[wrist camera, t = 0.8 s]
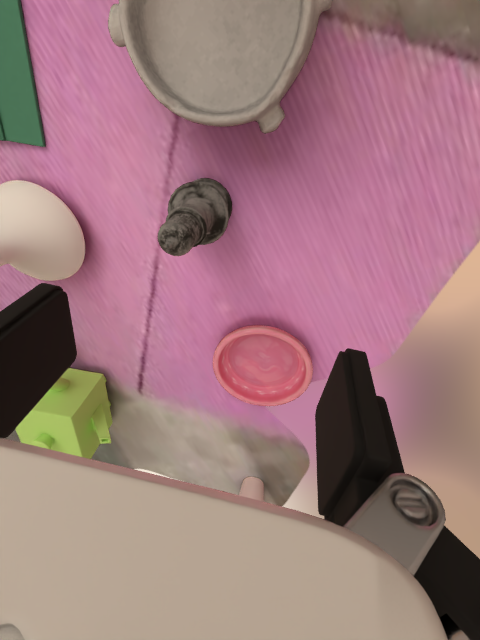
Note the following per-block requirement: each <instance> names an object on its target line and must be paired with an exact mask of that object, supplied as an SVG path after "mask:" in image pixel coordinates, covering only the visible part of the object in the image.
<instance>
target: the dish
mask: <svg viewBox="0 0 480 640" xmlns="http://www.w3.org/2000/svg"><path fill="white" fill-rule="evenodd" d="M331 4H332V0H119V4H114V5H113V6H112V7H111V9H110V14H109V20H108V28H109V32H110V35H111V38H112V40H113V42H114V43H115V44H116V45H117V46H119V47H124V46H126V47H127V50H128V53H129V55H130V57H131V60H132V62H133V64H134V66H135V68H136V70H137V72H138V74H139V76H140V78H141V79H142V81H143V82H144V84H145V85H146V87H147V88H148V89H149V91H150V92H151V93H152V94H153V95H154V97H155V98H156V99H157V100H158V101H159V102H160V103H162V104H163V105H164V106H165V107H166V108H168V109H169V110H170V111H172V112H173V113H175V114H176V115H178V116H180V117H182V118H184V119H186V120H189V121H192V122H194V123H199V124H203V125H209V126H236V125H241V124H245V123H249V122H252V121H257V122H258V124H259V126H260V129H261V131H262V132H263V133H269V132H273V131H275V130H276V129H277V128H278V126H279V125H280V123H281V122H282V120H283V119H284V117H285V114H284V111H283V110H282V108H281V107H280V101H281V99H282V98H283V97H284V95H285V94H286V92H287V91H288V90H289V88H290V87H291V85H292V84H293V82H294V81H295V79H296V78H297V76H298V74H299V73H300V71H301V69H302V67H303V65H304V63H305V61H306V59H307V57H308V54H309V51H310V49H311V46H312V43H313V40H314V37H315V33H316V29H317V25H318V20H319V16H320V14H321V13H322V12H323V11H327V10H329V9H330V8H331Z"/></svg>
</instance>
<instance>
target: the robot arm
mask: <svg viewBox="0 0 480 640" xmlns="http://www.w3.org/2000/svg"><path fill="white" fill-rule="evenodd" d="M76 355H77V351H76V345H75V339H74V333H73V326H72V320H71V314H70V308H69V302H68V296H67V294H66V292H63V289H62V288H61V287H60V286H56V285H51V284H46V283H41V284H39V285H38V286H36V287H35V288H33V289H32V290H30V291H29V292H28V293H26V294H25V295H23V296H22V297H21V298H19V299H18V300H16V301H15V302H13V303H12V304H11V305H9V306H8V307H6V308H5V309H3V310H2V311H1V312H0V640H480V559H479V558H478V557H477V556H476V555H475V554H474V553H473V552H472V551H470V550H469V549H468V548H467V547H466V546H465V545H464V544H463V543H462V542H461V541H460V540H459V539H458V538H457V537H456V536H455V535H454V534H453V533H452V532H450V531H449V530H448V529H447V528H446V527H445V526H444V523H445V520H446V518H445V510H444V508H443V505H442V503H441V501H440V499H439V498H438V496H437V495H436V493H435V492H434V491H433V490H432V489H431V488H430V487H429V486H428V485H427V484H426V483H424V482H423V481H421V480H419V479H418V478H416V477H414V476H412V475H409V474H405V472H404V469H403V465H402V461H401V457H400V453H399V450H398V446H397V442H396V438H395V435H394V431H393V427H392V423H391V420H390V416H389V412H388V408H387V404H386V402H385V399H384V398H383V397H380V396H376V393H375V389H374V384H373V380H372V376H371V372H370V367H369V363H368V359H367V355H366V353H365V352H363V351H358V350H353V349H349V348H348V349H346V351H345V352H342V351H340V352H339V354H338V356H337V359H336V361H335V364H334V366H333V369H332V371H331V373H330V376H329V378H328V381H327V383H326V386H325V388H324V391H323V393H322V396H321V398H320V401H319V403H318V405H317V409H316V415H315V417H316V418H315V420H316V450H317V451H316V452H317V485H318V511H319V514H320V515H323V516H324V517H325V519H322V518H318V517H315V516H312V515H309V514H306V513H302V512H299V511H296V510H292V509H288V508H285V507H281V506H277V505H273V504H270V503H266V502H262V501H258V500H255V499H251V498H247V497H243V496H239V495H235V494H231V493H227V492H223V491H219V490H215V489H211V488H207V487H203V486H199V485H195V484H191V483H187V482H183V481H179V480H174V479H170V478H166V477H162V476H158V475H154V474H150V473H146V472H142V471H138V470H133V469H129V468H125V467H121V466H117V465H113V464H109V463H104V462H100V461H96V460H92V459H88V458H84V457H80V456H75V455H71V454H67V453H63V452H59V451H54V450H50V449H46V448H42V447H37V446H33V445H29V444H25V443H20V442H16V441H12V440H8V439H3V438H6V437H8V436H9V435H10V434H11V433H12V432H13V431H14V430H15V428H16V427H17V426H18V425H19V424H20V423H21V422H22V420H23V419H24V418H25V417H26V416H27V415H28V414H29V412H30V411H31V410H32V409H33V408H34V407H35V406H36V404H37V403H38V402H39V401H40V400H41V399H42V398H43V396H44V395H45V394H46V393H47V392H48V391H49V390H50V388H51V387H52V386H53V385H54V384H55V383H56V382H57V380H58V379H59V378H60V377H61V376H62V375H63V374H64V372H65V371H66V370H67V369H68V368H69V367H70V366H71V364H72V363H73V362H74V361H75V359H76Z"/></svg>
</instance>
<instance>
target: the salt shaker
mask: <svg viewBox="0 0 480 640" xmlns="http://www.w3.org/2000/svg"><path fill="white" fill-rule="evenodd" d="M231 211H232V201H231V198H230V195H229V193H228V192H227V190H226V189H225V188H224V187H223V186H222V185H221V184H220V183H219V182H217V181H215V180H212V179H209V178H200V179H197V180H194V181H193V182H189V183H186V184H183V185H182V186H180V187H179V188H177V189H176V190H175V191H174V193H173V194H172V195H171V198H170V200H169V204H168V216H167V218H166V222H165V223H164V224H163V225H162V226H161V227H160V230H159V232H158V242H159V244H160V246H161V248H162V249H163V250H164V251H165V252H166V253H168V254H170V255H173V256H181V255H184V254H186V253H188V252H189V251H190V250H191V249H192V247H195V246H197V245H206V244H210V243H213V242H214V241H216V240H218V239H219V238H220V237H221V236H222V235H223V233H224V232H225V230H226V228H227V224H228V220H229V218H230V216H231Z"/></svg>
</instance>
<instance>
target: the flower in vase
mask: <svg viewBox="0 0 480 640" xmlns="http://www.w3.org/2000/svg"><path fill="white" fill-rule="evenodd" d="M84 257H85V241H84V236H83V232H82V229H81V227H80V225H79V222H78V221H77V219H76V217H75V215H74V214H73V213H72V211H71V210H70V209H69V208H68V206H67V205H66V204H65V203H64V202H63V201H62V200H61V199H59V198H58V197H57V196H56V195H54V194H53V193H51V192H50V191H48V190H47V189H45V188H43V187H41V186H39V185H37V184H34V183H31V182H27V181H20V180H14V181H8V182H5V183H3V184H1V185H0V266H2V265H5V264H8V263H9V264H10V265H11V266H12V267H14V268H15V269H17V270H19V271H20V272H22V273H24V274H26V275H29V276H31V277H34V278H36V279H40V280H46V281H54V280H62V279H66V278H68V277H70V276H72V275H74V274H75V273H76V272H77V271H78V270H79V269H80V267H81V266H82V263H83V261H84Z"/></svg>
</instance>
